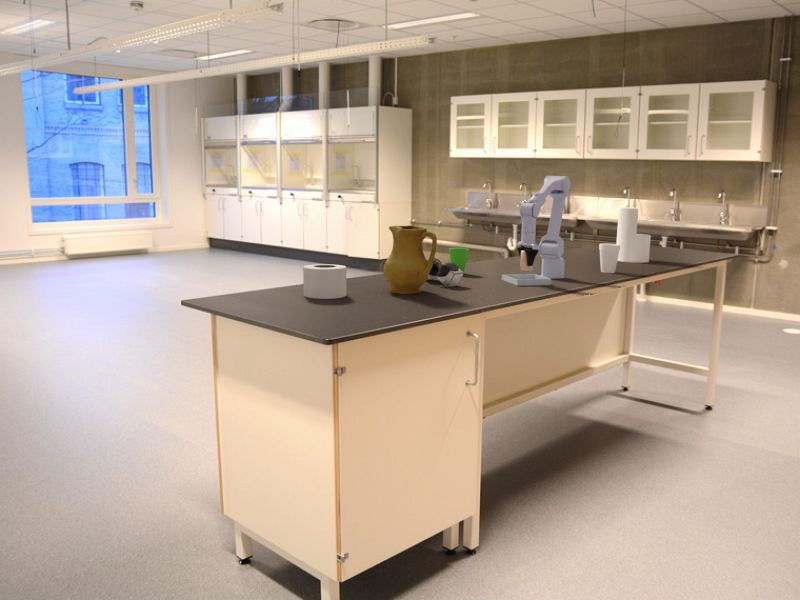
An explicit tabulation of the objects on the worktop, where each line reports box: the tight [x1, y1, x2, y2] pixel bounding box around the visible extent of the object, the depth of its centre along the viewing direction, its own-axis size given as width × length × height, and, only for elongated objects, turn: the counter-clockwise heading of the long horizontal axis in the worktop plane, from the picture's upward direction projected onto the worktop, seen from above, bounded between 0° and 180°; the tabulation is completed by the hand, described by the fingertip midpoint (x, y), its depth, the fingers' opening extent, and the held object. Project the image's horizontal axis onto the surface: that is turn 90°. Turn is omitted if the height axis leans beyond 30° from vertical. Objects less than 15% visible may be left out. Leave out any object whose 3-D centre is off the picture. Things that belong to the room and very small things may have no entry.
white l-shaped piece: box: [615, 206, 652, 264], centre depth 391 cm, size 17×17×28 cm
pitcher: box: [383, 224, 438, 295], centre depth 275 cm, size 17×19×25 cm
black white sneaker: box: [426, 257, 465, 288], centre depth 299 cm, size 25×10×10 cm, turn 28°
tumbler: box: [519, 250, 534, 272], centre depth 305 cm, size 5×5×8 cm
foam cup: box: [598, 242, 620, 274], centre depth 344 cm, size 10×9×13 cm
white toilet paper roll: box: [302, 263, 347, 300], centre depth 265 cm, size 16×15×11 cm
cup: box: [448, 247, 470, 273], centre depth 329 cm, size 9×9×11 cm
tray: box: [501, 273, 552, 287], centre depth 307 cm, size 15×15×2 cm
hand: (526, 265), depth 306 cm, fingers closed on tumbler, 5 cm apart
